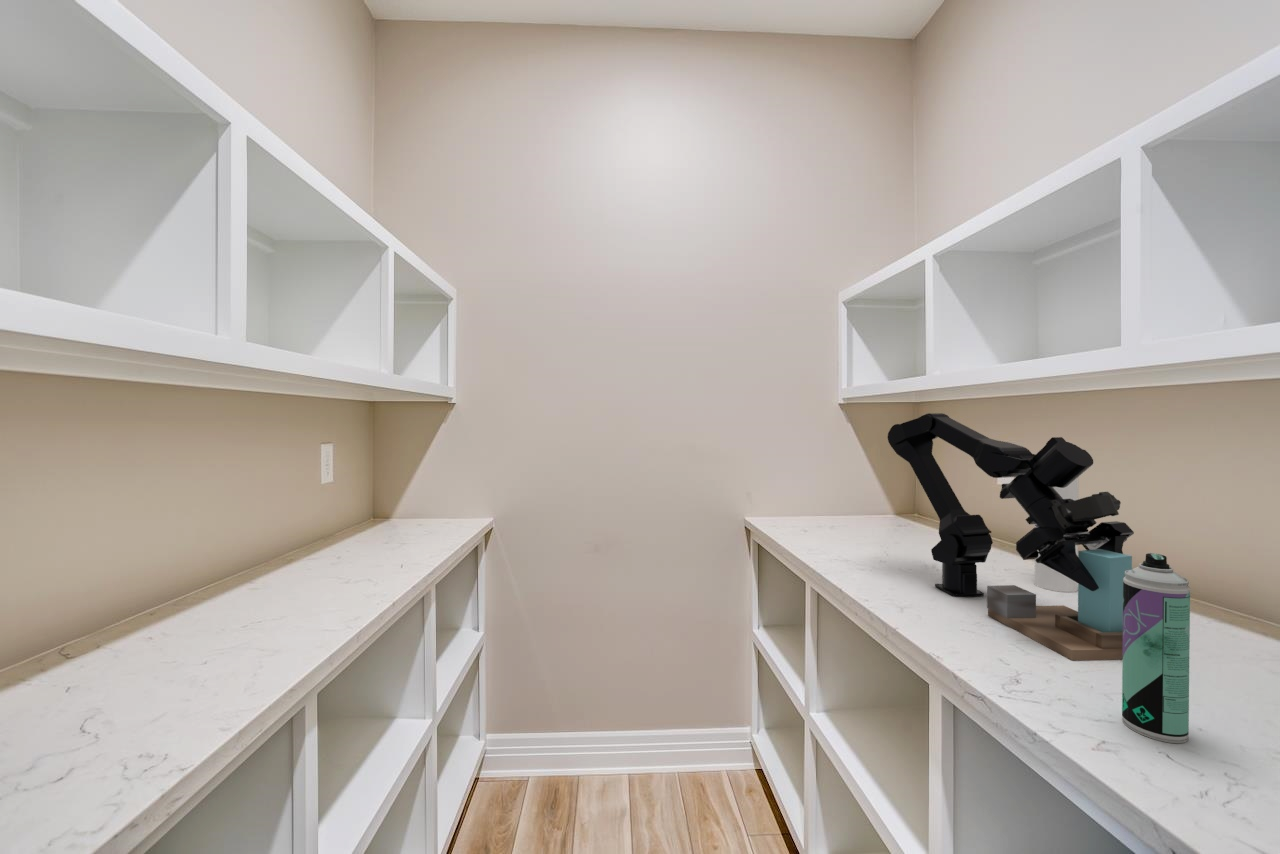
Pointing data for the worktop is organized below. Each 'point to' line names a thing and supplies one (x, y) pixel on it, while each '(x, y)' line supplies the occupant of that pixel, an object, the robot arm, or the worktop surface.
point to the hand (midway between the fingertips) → (1114, 587)
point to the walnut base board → (1052, 625)
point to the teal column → (1103, 590)
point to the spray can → (1156, 651)
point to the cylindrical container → (1045, 574)
